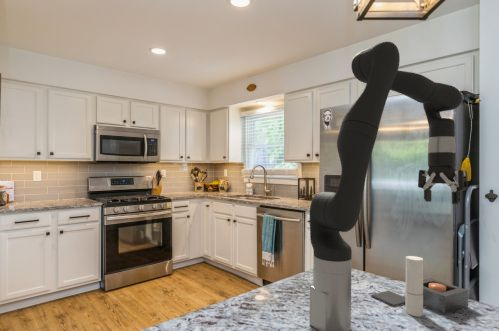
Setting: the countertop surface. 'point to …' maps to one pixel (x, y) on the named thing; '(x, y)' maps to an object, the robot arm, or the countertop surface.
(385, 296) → the pad
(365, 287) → the countertop surface
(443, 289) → the orange dome
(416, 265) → the tube
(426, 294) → the frame
